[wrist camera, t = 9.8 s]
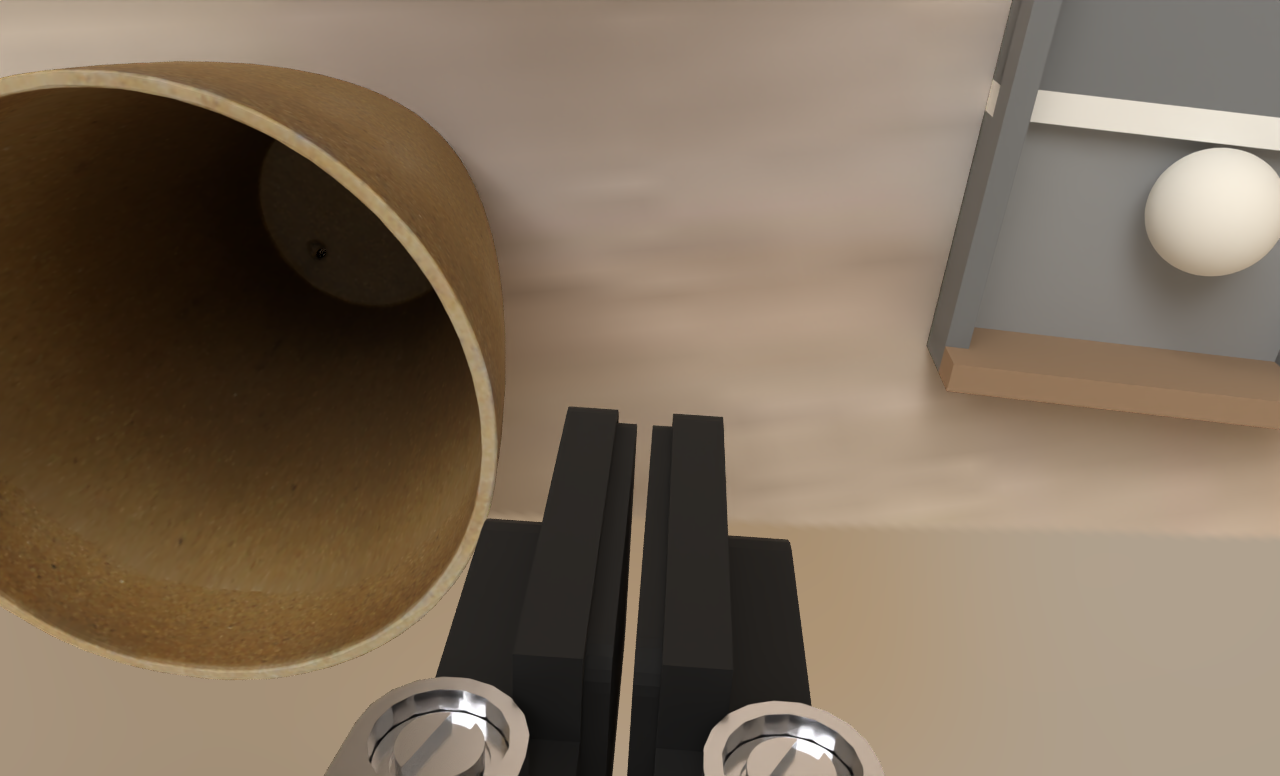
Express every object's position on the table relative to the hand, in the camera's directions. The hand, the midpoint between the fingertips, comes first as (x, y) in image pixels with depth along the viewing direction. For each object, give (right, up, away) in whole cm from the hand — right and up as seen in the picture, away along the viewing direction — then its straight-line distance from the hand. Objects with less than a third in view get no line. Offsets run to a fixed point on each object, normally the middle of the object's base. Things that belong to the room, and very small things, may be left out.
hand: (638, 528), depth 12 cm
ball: (+18, +7, +22) cm, 30 cm away
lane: (+18, +11, +23) cm, 31 cm away
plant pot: (-10, +8, +26) cm, 29 cm away
